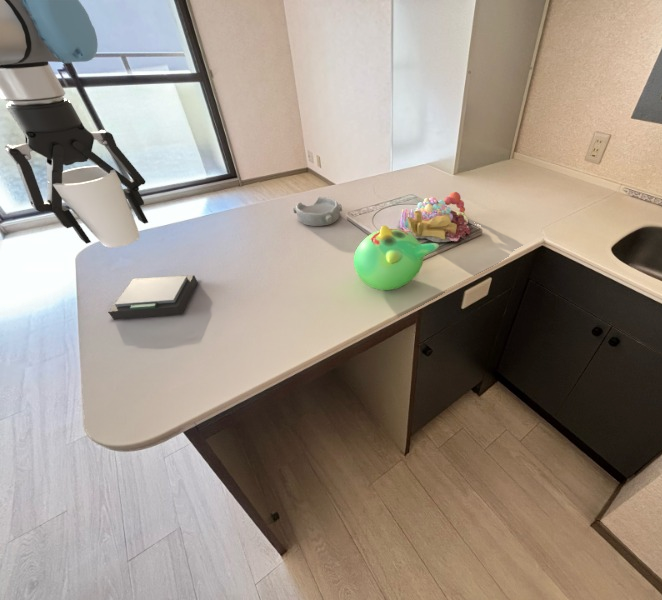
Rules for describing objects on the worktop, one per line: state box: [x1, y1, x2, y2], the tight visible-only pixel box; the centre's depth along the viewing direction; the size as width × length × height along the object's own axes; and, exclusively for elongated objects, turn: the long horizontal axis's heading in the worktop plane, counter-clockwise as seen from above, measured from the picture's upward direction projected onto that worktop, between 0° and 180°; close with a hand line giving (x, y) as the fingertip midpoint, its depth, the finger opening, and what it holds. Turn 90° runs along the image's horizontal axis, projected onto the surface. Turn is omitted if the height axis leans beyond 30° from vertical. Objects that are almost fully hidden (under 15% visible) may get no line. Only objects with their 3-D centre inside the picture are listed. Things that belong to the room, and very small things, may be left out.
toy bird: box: [353, 224, 440, 291], centre depth 81 cm, size 18×17×15 cm
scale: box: [107, 274, 198, 321], centre depth 76 cm, size 14×12×3 cm
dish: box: [292, 196, 343, 227], centre depth 110 cm, size 14×14×5 cm
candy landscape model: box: [399, 191, 472, 243], centre depth 107 cm, size 25×24×9 cm
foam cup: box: [46, 165, 141, 249], centre depth 61 cm, size 10×9×13 cm
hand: (116, 230), depth 64 cm, fingers closed on foam cup, 9 cm apart
